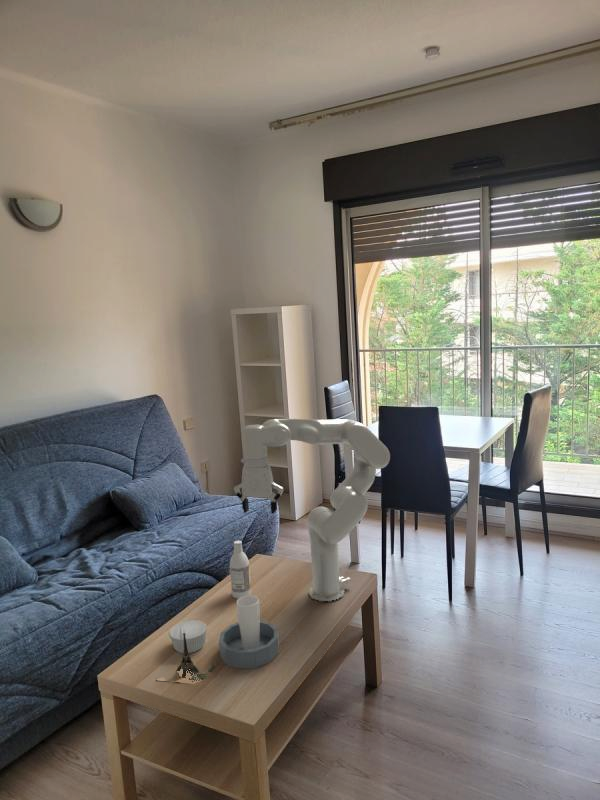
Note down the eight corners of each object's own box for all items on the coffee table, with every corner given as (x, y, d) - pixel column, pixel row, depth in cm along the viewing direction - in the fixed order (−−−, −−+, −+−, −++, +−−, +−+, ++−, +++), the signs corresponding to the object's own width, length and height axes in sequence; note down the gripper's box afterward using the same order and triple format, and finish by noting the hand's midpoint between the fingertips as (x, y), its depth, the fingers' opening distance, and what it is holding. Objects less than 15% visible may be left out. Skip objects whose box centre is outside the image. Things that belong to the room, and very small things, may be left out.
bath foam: (252, 597, 207) (248, 544, 204) (233, 600, 205) (228, 547, 202) (250, 588, 213) (246, 537, 210) (231, 591, 212) (227, 539, 209)
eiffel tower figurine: (154, 683, 162) (149, 638, 160) (169, 661, 172) (165, 619, 170) (204, 687, 159) (200, 642, 157) (217, 665, 168) (213, 622, 166)
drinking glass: (259, 654, 170) (255, 606, 168) (237, 653, 171) (233, 605, 169) (265, 641, 176) (261, 595, 174) (243, 640, 178) (239, 594, 175)
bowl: (262, 628, 186) (261, 614, 185) (289, 654, 171) (288, 638, 170) (212, 647, 177) (210, 631, 176) (235, 675, 162) (234, 659, 161)
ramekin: (163, 647, 179) (162, 631, 178) (193, 631, 187) (191, 616, 186) (185, 660, 171) (184, 643, 170) (215, 643, 179) (213, 627, 178)
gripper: (227, 465, 190) (231, 515, 192) (278, 465, 185) (281, 516, 188) (235, 459, 197) (239, 507, 200) (284, 459, 193) (287, 508, 195)
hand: (260, 511), depth 194 cm, fingers open, 9 cm apart
